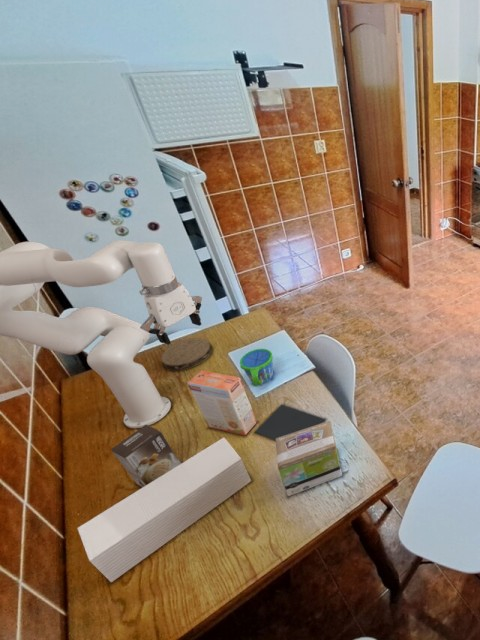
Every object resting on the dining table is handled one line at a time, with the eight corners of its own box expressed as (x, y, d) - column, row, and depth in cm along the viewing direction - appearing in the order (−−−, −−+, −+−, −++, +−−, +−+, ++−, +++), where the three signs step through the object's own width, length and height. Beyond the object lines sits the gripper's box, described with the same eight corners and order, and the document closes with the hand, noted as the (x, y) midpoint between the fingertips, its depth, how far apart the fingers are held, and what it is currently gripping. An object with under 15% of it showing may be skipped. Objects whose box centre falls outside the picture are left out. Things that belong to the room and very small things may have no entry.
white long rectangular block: (234, 459, 117) (224, 437, 112) (251, 481, 112) (241, 458, 106) (98, 550, 95) (77, 527, 90) (111, 582, 90) (89, 560, 84)
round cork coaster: (173, 346, 159) (171, 340, 157) (217, 341, 162) (214, 335, 161) (156, 373, 146) (153, 367, 144) (203, 367, 149) (201, 361, 148)
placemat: (254, 432, 126) (254, 431, 125) (281, 405, 136) (281, 404, 135) (300, 449, 121) (300, 448, 121) (325, 419, 131) (324, 419, 131)
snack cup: (273, 391, 141) (266, 371, 135) (241, 395, 138) (233, 375, 133) (281, 362, 154) (276, 342, 148) (252, 365, 151) (245, 345, 146)
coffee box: (168, 457, 117) (146, 422, 109) (182, 465, 115) (162, 430, 107) (135, 484, 110) (109, 449, 101) (150, 493, 108) (125, 458, 99)
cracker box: (258, 421, 129) (241, 376, 119) (245, 436, 124) (226, 391, 114) (221, 413, 132) (201, 368, 121) (207, 428, 126) (185, 382, 116)
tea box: (288, 498, 108) (276, 467, 100) (285, 468, 116) (273, 437, 108) (343, 476, 114) (335, 445, 107) (337, 449, 122) (329, 418, 114)
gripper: (138, 304, 100) (162, 354, 108) (200, 274, 114) (217, 320, 123) (117, 298, 101) (143, 347, 110) (181, 268, 116) (199, 314, 124)
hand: (182, 333), depth 116 cm, fingers open, 9 cm apart
